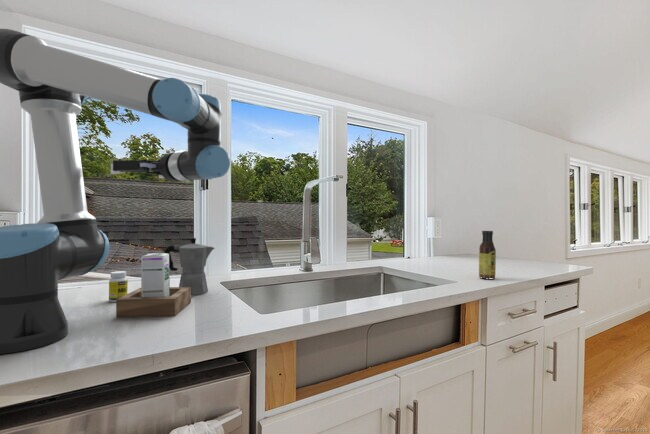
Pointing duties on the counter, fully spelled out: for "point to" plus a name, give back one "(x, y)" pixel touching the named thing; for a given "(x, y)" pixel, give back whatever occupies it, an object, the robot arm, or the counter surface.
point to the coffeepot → (191, 265)
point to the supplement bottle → (117, 285)
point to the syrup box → (155, 275)
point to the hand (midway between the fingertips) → (137, 171)
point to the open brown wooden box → (153, 304)
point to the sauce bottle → (487, 256)
